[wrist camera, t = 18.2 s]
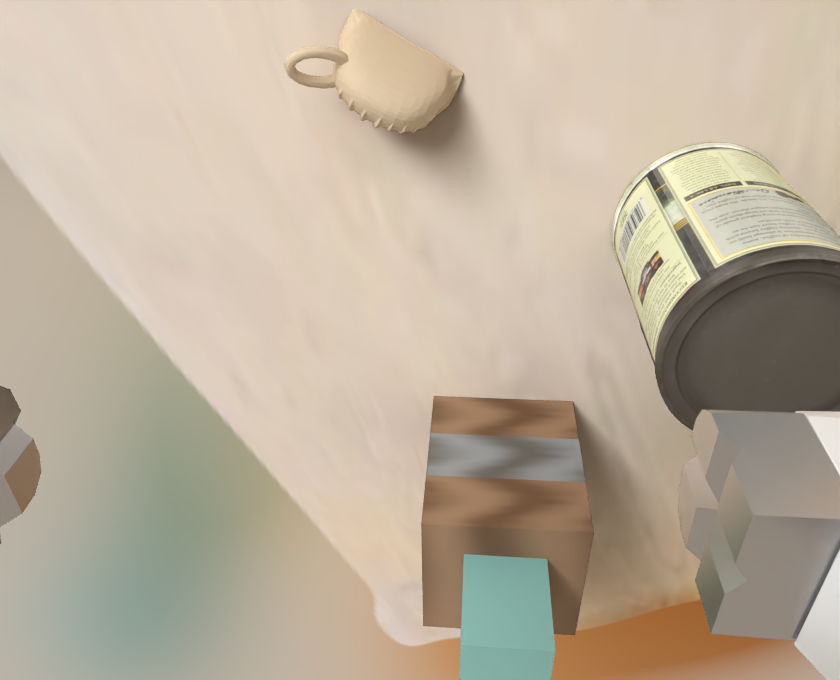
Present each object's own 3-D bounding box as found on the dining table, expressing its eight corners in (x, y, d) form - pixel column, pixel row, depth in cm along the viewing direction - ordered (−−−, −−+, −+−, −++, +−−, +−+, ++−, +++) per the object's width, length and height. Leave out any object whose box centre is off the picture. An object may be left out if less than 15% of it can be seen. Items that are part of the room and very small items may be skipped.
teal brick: (547, 559, 42) (555, 651, 37) (540, 609, 45) (546, 701, 40) (463, 554, 43) (461, 644, 38) (461, 605, 45) (458, 695, 41)
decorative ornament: (428, 137, 41) (421, 170, 36) (298, 58, 39) (274, 83, 34) (466, 74, 39) (463, 102, 34) (330, -12, 37) (309, 5, 32)
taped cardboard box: (572, 401, 51) (593, 532, 41) (559, 499, 56) (574, 635, 46) (433, 396, 51) (421, 523, 41) (434, 493, 57) (423, 625, 47)
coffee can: (786, 282, 44) (894, 432, 32) (618, 309, 46) (663, 460, 34) (794, 121, 39) (927, 233, 27) (603, 159, 41) (649, 279, 29)
